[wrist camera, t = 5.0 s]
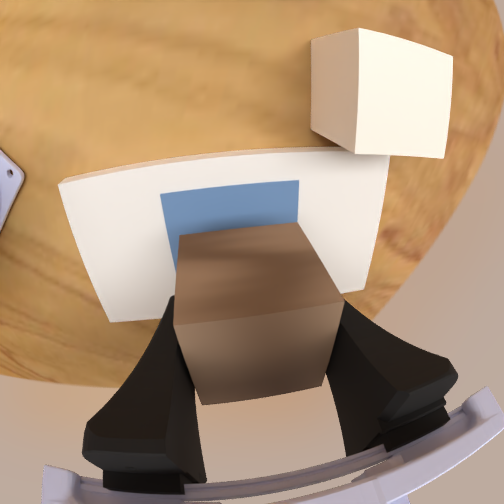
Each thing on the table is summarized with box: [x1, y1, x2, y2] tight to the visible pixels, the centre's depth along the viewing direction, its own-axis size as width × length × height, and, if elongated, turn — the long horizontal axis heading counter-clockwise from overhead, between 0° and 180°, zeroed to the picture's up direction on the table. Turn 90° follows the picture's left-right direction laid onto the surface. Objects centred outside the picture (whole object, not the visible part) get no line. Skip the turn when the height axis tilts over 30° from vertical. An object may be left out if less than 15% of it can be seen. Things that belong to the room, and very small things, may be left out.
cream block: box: [311, 28, 453, 159], centre depth 11 cm, size 5×5×5 cm
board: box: [58, 147, 390, 322], centre depth 17 cm, size 18×10×1 cm, turn 92°
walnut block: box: [173, 222, 345, 405], centre depth 12 cm, size 5×5×5 cm
